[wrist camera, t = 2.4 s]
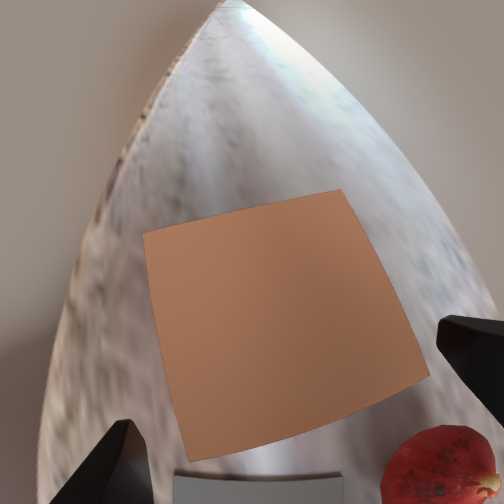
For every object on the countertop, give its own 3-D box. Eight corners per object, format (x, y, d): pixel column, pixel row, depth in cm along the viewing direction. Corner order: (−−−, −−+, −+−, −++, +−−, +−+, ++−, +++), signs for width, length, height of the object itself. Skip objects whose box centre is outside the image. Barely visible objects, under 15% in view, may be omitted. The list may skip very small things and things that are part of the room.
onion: (348, 513, 12) (414, 561, 5) (373, 423, 15) (456, 415, 8) (430, 511, 11) (515, 533, 4) (451, 429, 14) (543, 414, 7)
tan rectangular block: (334, 403, 15) (430, 375, 7) (221, 438, 14) (189, 462, 6) (297, 302, 19) (340, 189, 10) (192, 330, 17) (142, 233, 9)
